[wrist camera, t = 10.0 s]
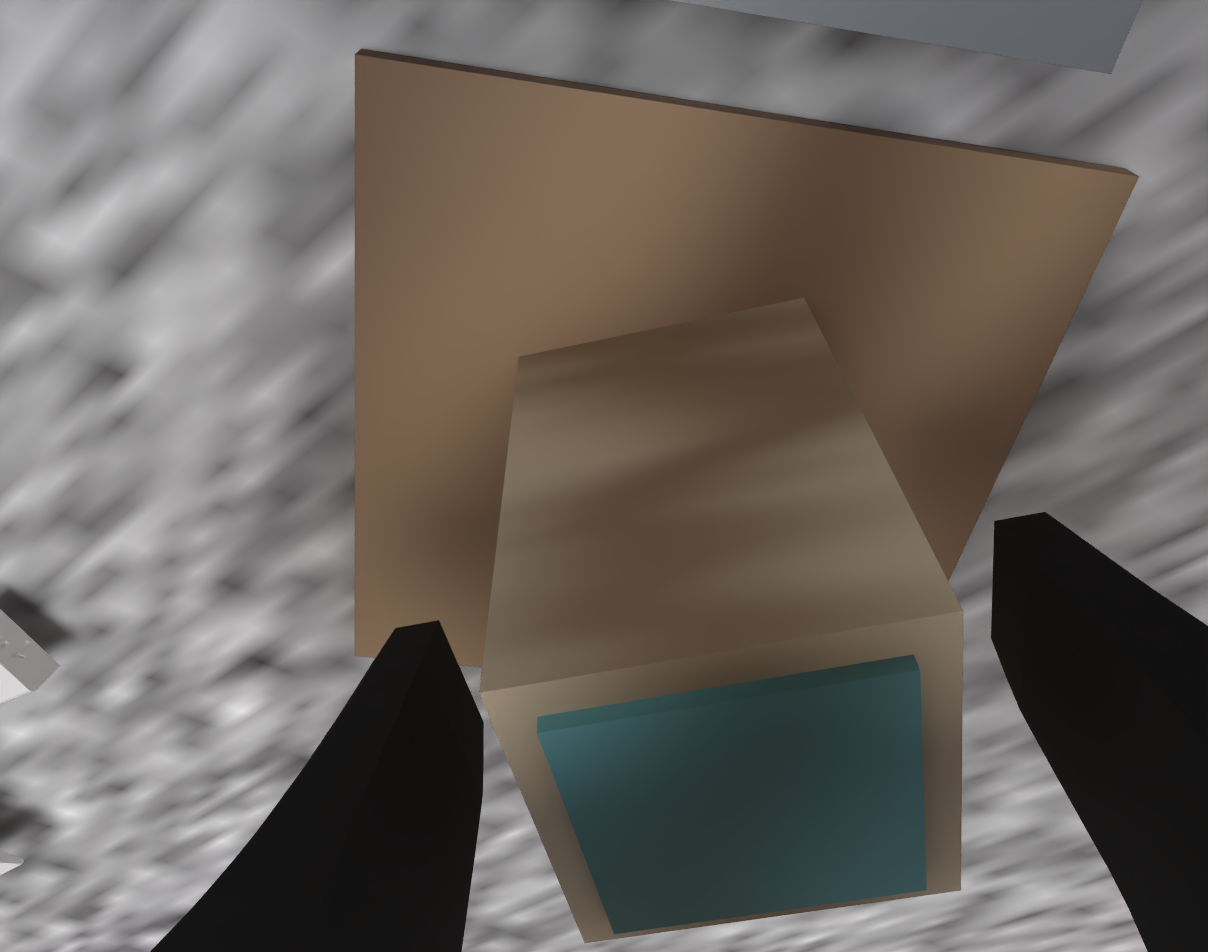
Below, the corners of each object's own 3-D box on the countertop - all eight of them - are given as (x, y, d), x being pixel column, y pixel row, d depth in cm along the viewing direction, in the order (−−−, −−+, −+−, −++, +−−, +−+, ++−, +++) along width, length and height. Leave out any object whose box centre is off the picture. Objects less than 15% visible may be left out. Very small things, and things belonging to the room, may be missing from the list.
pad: (1125, 168, 13) (1138, 176, 13) (885, 689, 20) (890, 703, 19) (361, 49, 12) (354, 54, 12) (358, 641, 18) (354, 655, 18)
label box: (803, 297, 14) (971, 627, 8) (826, 526, 17) (966, 906, 11) (518, 356, 14) (476, 708, 9) (582, 570, 17) (584, 959, 11)
